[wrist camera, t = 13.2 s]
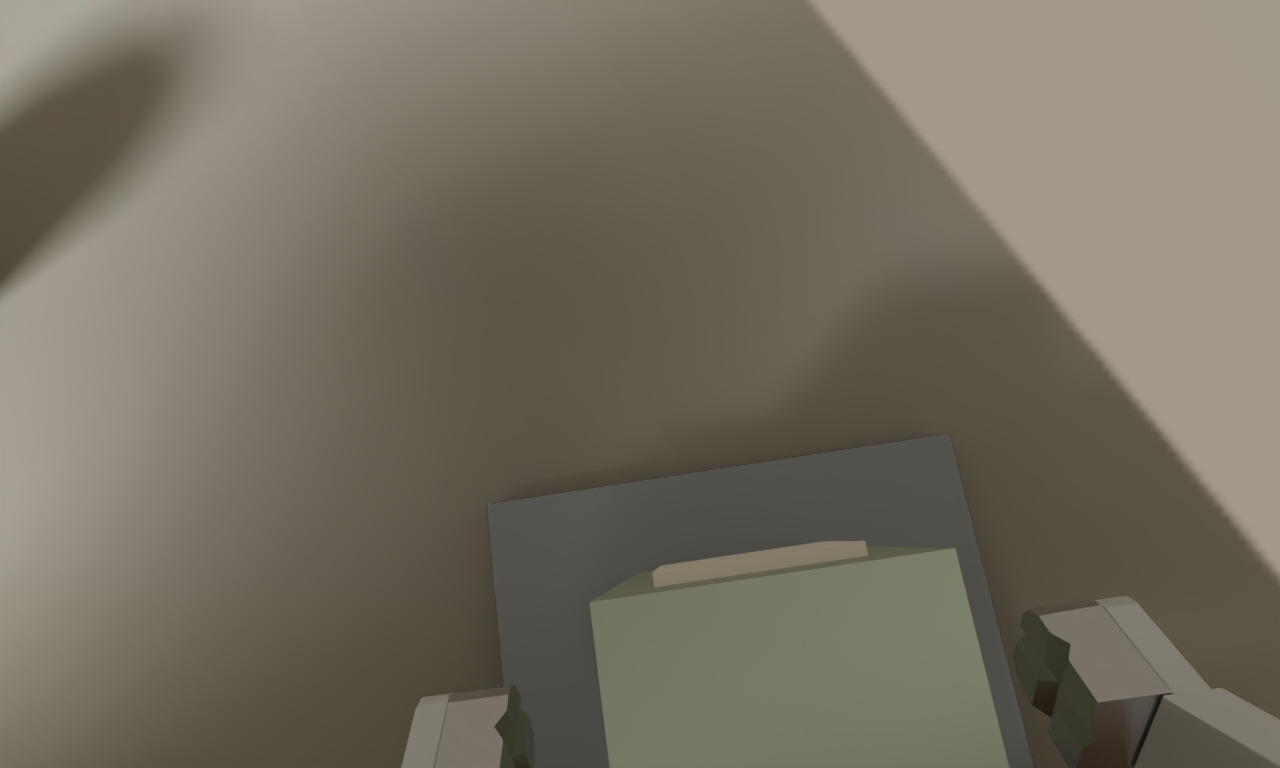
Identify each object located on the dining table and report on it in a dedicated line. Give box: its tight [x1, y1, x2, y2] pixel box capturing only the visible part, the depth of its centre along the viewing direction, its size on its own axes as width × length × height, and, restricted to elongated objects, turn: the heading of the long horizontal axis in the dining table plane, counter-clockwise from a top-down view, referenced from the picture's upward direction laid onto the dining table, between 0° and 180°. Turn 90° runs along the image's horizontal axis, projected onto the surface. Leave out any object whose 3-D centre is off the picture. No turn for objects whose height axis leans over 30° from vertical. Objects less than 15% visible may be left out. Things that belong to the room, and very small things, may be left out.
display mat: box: [487, 433, 1034, 768], centre depth 17 cm, size 12×9×1 cm
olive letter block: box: [589, 541, 1009, 768], centre depth 12 cm, size 4×5×9 cm
